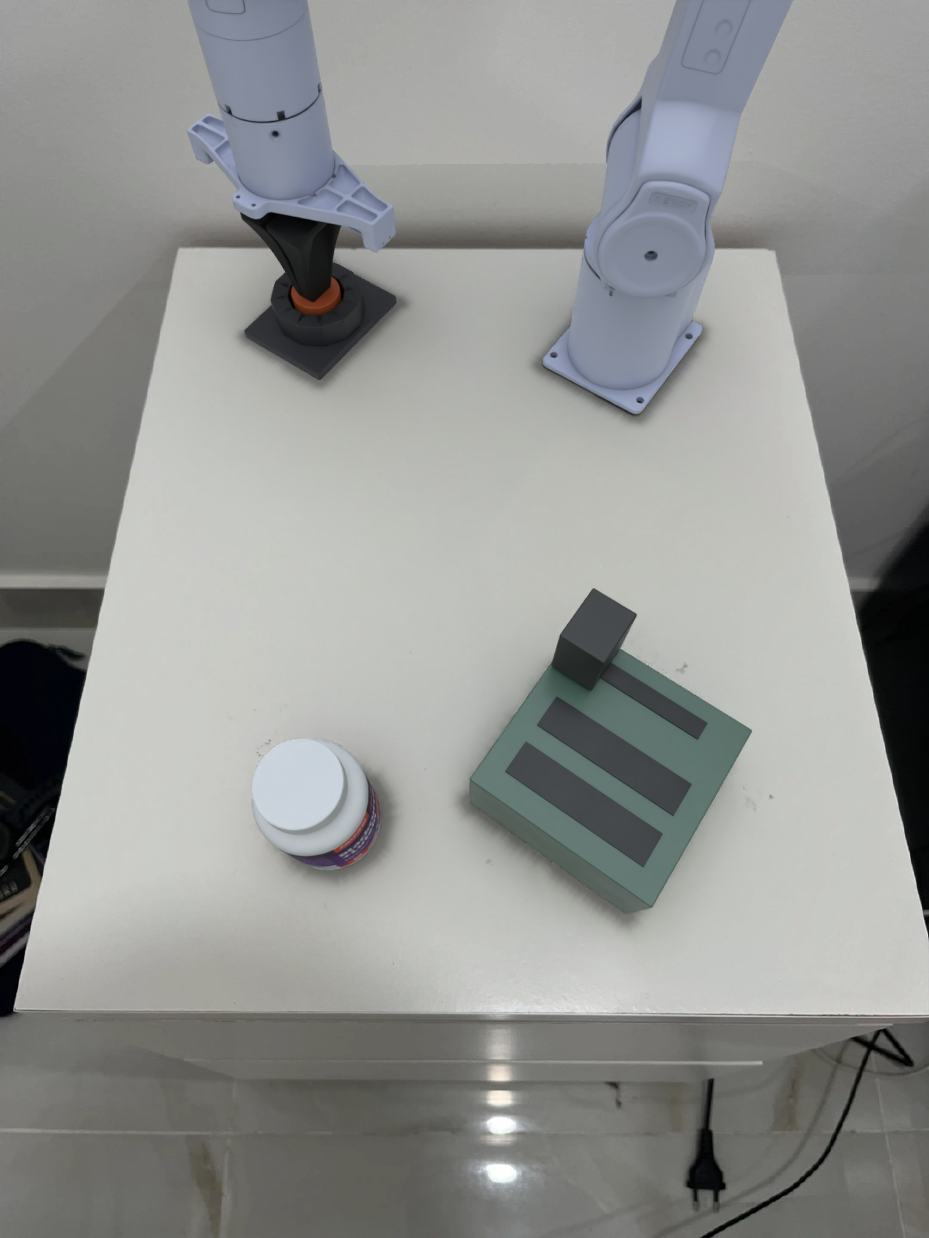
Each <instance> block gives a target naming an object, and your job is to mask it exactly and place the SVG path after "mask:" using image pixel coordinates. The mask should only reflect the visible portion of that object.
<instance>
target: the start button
mask: <svg viewBox="0 0 929 1238" xmlns="http://www.w3.org/2000/svg"><path fill="white" fill-rule="evenodd" d="M291 295H292V299H293V303H294V306H295V309H296V310H297V311H299V312H301V313H303V314H314V315H321V314H323V313H326V312H329V311H332V310H333V309H335V308H336V307H337V306H338V305H339V304H340V303H341V302H342V298H341V293H340V288H339V284H338V282H337V281H336V280H335V279H334V278H333V277H331V287H330V288H329V289H328V290H327V291H326V292H325V293H324V294H323V295H322V296H320V297H319V298H318V299H317V300H316V301H315V302H311V301H309V300H307V299H305V298H304V297H302V296H300V295H299V294H298V293H297V291H296V290H295V288H294V286H293V287H292V291H291Z"/></svg>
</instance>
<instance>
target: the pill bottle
mask: <svg viewBox="0 0 929 1238" xmlns="http://www.w3.org/2000/svg"><path fill="white" fill-rule="evenodd" d="M251 810H252V815H253V819H254V822H255V825H256V826H257V828H258V829H259V832H260V833H261V834H262V836H263V837H264V838H265V839H266V841H268V842H269V843H270V844H271V845H272V846H273V847H275V848H276V849H278V850H280V851H281V852H283V853H285V854H286V855H288V856H290V858H291V857H292V858H293V859H295V860H296V861H298V862H300V863H302V864H304V865H305V866H307V867H310V868H312V869H316V870H320V871H335V870H342V869H344V868H347V867H349V866H352V865H353V864H355V863H357V862H359V861H360V860H361V859H362V858H363V857H365V855H366V854H368V852H369V851H370V850H371V849H372V847H373V846H374V844H375V842H376V840H377V839H378V836H379V833H380V829H381V826H382V825H381V824H382V809H381V804H380V800H379V797H378V794H377V792H376V791H375V789H374V787H373V786H372V784H371V782H370V780H369V778H368V775H366V772H365V770H364V768H363V767H362V765H361V764H360V762H359V760H357V758H356V757H355V755H353V753H352V752H350V751H349V750H348V749H346V748H345V747H343V746H342V745H341V744H338V743H337V742H334V741H332V740H328V739H323V738H305V737H299V738H292V739H287V740H285V741H282V742H280V743H278V744H277V745H275V746H273V747H272V748H270V750H267V752H266V753H265V754H264V755H263V756H262V758H260V760H259V762H258V763H257V765H256V767H255V769H254V773H253V774H252V779H251Z"/></svg>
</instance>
